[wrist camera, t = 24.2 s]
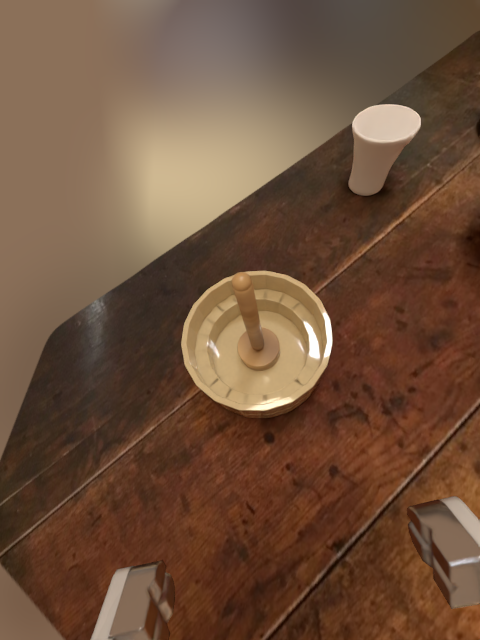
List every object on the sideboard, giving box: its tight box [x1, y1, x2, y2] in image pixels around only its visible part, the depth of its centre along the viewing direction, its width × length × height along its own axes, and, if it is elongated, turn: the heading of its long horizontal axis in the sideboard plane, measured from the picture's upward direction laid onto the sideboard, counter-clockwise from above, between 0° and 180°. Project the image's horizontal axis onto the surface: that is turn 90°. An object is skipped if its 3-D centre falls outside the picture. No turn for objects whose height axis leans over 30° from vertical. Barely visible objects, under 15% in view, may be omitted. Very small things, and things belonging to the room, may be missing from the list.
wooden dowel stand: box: [232, 272, 280, 371], centre depth 27 cm, size 5×5×17 cm
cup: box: [348, 104, 421, 196], centre depth 41 cm, size 9×9×10 cm
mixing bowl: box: [181, 271, 333, 418], centre depth 32 cm, size 16×16×7 cm
